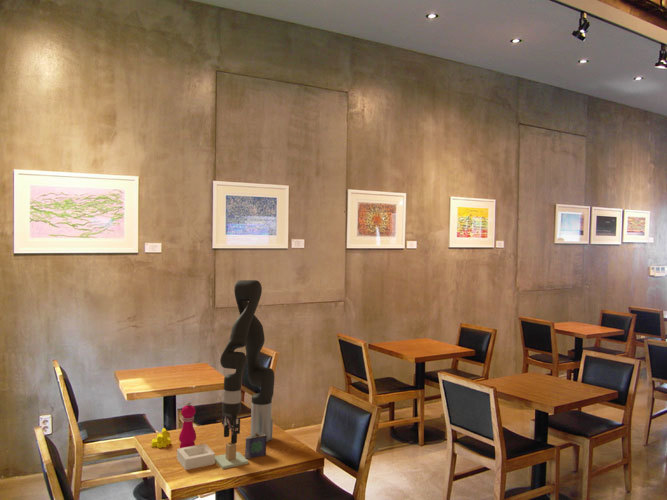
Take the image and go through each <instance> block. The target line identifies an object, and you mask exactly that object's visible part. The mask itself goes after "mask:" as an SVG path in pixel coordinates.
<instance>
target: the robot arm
mask: <svg viewBox="0 0 667 500" xmlns="http://www.w3.org/2000/svg"><path fill="white" fill-rule="evenodd" d="M262 288H263V287H262V283H261V282H260V281H259V280H257V279H251V280H250V279H248V280H247V279H245V280H243V279H242V280H237V281H236V282H235V284H234V291H233V292H234V299H235V301H236V306H237V308H238V313H239V316H238V317H237V319H236V320H235V321H234V324H233V325H232V328H231V330H230V331H231V333H230V336H229V340H228V341H227V344H226V346H225V348H224V350H223V351H222V353H221V355H220V359H219V363H220V365H221V367H222V368H224V369H228V370H229V369H230V370H235V372H234V373H228V374H226V375H224V379H223V392H222V400H221V401H222V403H221V404H222V405H221V408H222V409H221V414H222V416H221V425H222V427H223V437H224V438H228V437H230V443H232V444H237V443H238V435H240V434H241V418H238V414H239V413H240V412H241V410H242V379H243V374H244V370H245V368H246V367H247V377H248V381H249V385H251V386H253V387H256V388H260V391H259V392H258V393H255V394H253V395H252V396H251V403H250V404H251V406H250V408H251V410H250V412H251V413H250V436H253V435H254V433H255V431H257V433H258V434H265V435H266V436H267V437H266V443H268V442H270V441H272V440H273V434H274V433H273V429H274V428H273V426H274V419H273V418H272V403H273V402H272V401H273V397H274V391H275V390H274V389H275V388H274V387H275V371H274V370H273V368H271V367H266V366H262V365H261V363H260V353H261V351H262V349H263V347H264V344H265V332H264V326H263V324H262V323H261V321H260V320H259V319H258V317H257V316H256V314H255V313H256V310H257V308H258V305H259V302H260V300H261V298H262V290H263V289H262ZM240 348H245V352H242V351H235V350H237V349H240ZM246 364H247V365H246ZM230 433H231V435H230Z"/></svg>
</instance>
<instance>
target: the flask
mask: <svg viewBox="0 0 667 500" xmlns="http://www.w3.org/2000/svg"><path fill="white" fill-rule="evenodd" d="M266 437H267V436H266V435H265V434H258V433H257V431H255V433H254V435H253V436H246V437H245V449H244V451H245V454H244V457H245V458H246V459H247V460H250V459H254V458H258V457H265V456H266V454H267V442H266Z"/></svg>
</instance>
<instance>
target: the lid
mask: <svg viewBox="0 0 667 500" xmlns="http://www.w3.org/2000/svg"><path fill="white" fill-rule="evenodd" d="M215 461H216V462H215V464H217V465H218V466H219V467H220V468H221V469H222V470H224V469H225V468H226V469H229V468H234V466H235V467H238V466H239V465H240V466H243V465H248V464H249V459H246V458H245V455H243V454H242V453H241V452H239V451H237V443H235V444H232V443H231V442H225V453H224V454H219V455H215Z"/></svg>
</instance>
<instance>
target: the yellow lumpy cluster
mask: <svg viewBox="0 0 667 500" xmlns="http://www.w3.org/2000/svg"><path fill="white" fill-rule="evenodd" d="M170 438H171V433H170V432H169V431H168V430H167V429H166V428H165V427H163V428H162V429H161V433H157V435H156V437H155V438H152V440H151V445H150V446H151V448H155V447H157V449H161V448H162V447H163V448H167V446H170V445H169V444H171V445H172V439H170Z"/></svg>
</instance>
